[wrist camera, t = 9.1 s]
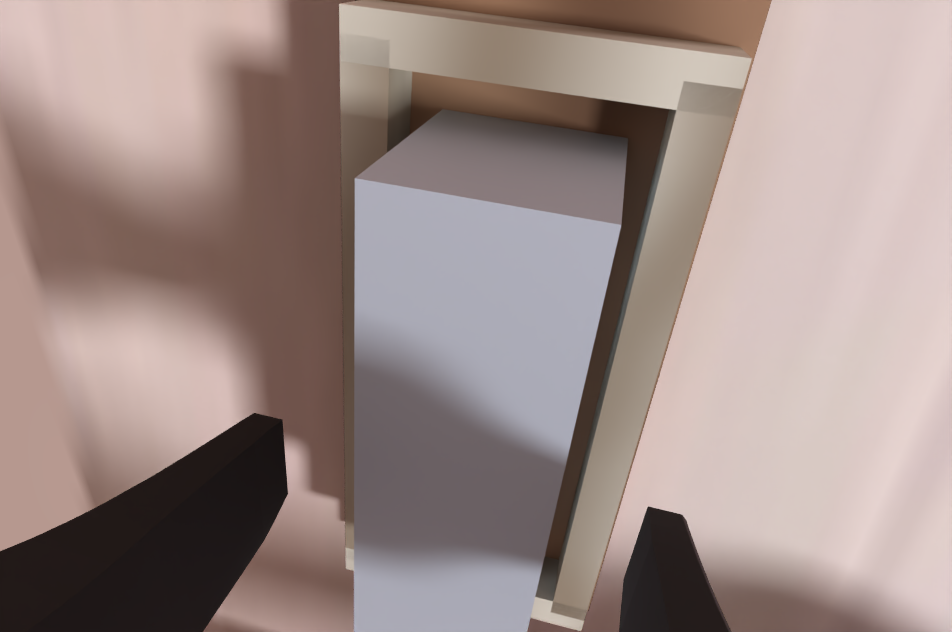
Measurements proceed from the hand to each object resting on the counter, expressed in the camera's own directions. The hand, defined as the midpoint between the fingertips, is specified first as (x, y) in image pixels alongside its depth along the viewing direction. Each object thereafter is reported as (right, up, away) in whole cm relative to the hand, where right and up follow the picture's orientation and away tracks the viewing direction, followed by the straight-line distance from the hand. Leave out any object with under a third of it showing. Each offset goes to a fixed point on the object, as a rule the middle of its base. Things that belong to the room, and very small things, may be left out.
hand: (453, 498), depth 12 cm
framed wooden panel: (+1, +3, +5) cm, 6 cm away
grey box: (+1, +3, +4) cm, 5 cm away
